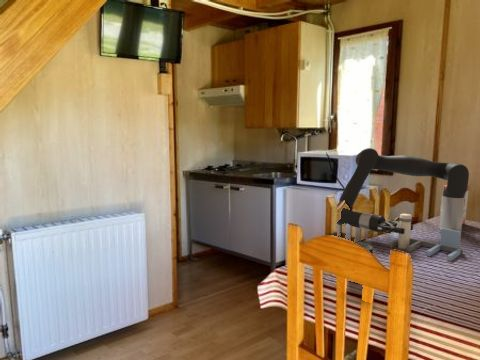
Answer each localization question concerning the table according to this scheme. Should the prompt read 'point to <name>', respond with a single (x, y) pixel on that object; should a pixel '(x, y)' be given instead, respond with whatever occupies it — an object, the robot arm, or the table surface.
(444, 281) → the table surface
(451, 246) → the cable comb
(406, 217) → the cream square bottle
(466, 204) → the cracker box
